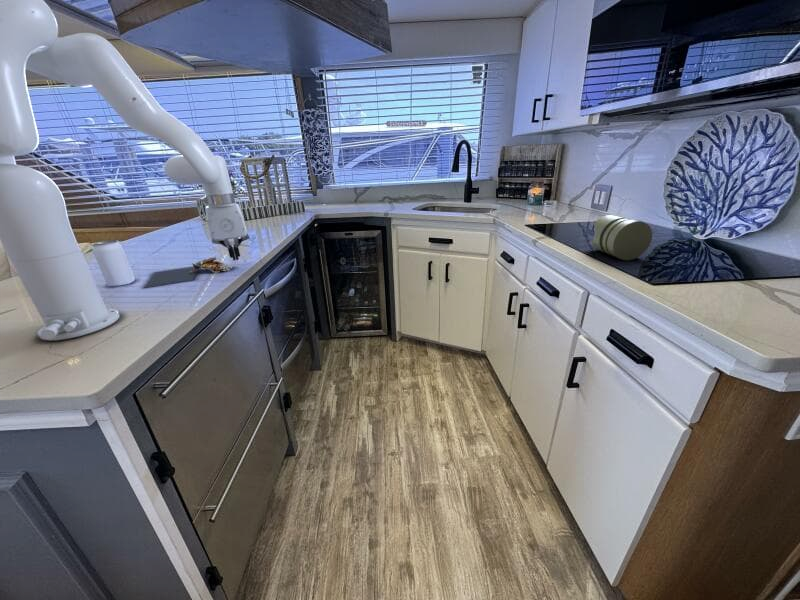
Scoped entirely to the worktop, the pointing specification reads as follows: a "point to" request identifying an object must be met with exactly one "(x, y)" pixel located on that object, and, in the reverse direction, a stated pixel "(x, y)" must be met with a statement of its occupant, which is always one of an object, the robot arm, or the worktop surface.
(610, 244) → the piston
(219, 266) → the pastry
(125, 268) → the can
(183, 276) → the slate mat
